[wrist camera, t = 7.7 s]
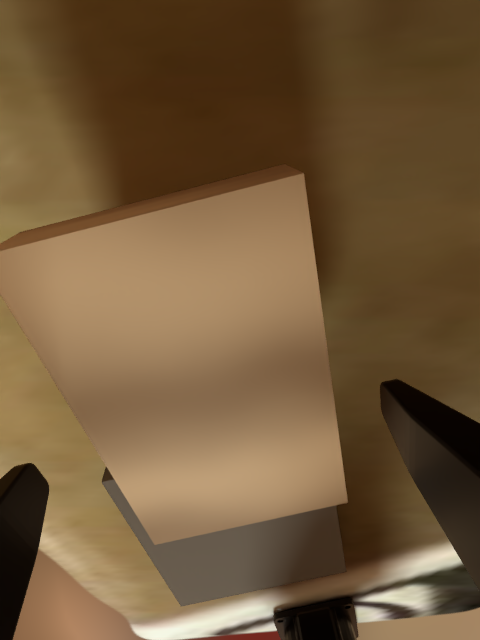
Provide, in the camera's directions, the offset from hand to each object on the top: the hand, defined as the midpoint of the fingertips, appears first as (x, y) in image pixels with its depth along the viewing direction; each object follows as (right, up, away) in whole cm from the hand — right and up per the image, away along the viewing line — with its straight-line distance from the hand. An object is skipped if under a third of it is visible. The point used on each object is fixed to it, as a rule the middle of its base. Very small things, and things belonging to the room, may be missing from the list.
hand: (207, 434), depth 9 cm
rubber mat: (+1, -10, +14) cm, 17 cm away
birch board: (0, +1, +3) cm, 3 cm away
